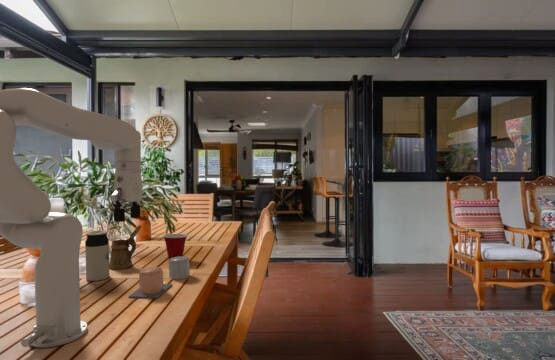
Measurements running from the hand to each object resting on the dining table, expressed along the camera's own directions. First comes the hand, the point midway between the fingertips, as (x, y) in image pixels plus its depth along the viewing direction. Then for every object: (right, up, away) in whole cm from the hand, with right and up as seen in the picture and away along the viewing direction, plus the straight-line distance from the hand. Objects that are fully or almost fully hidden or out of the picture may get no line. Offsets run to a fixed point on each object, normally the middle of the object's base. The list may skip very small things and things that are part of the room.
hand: (127, 219), depth 110 cm
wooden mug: (-16, -25, +35) cm, 46 cm away
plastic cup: (+2, -24, +45) cm, 51 cm away
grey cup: (+11, -25, +22) cm, 35 cm away
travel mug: (-21, -25, +20) cm, 38 cm away
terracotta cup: (+5, -25, +6) cm, 26 cm away
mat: (+5, -26, +6) cm, 27 cm away
